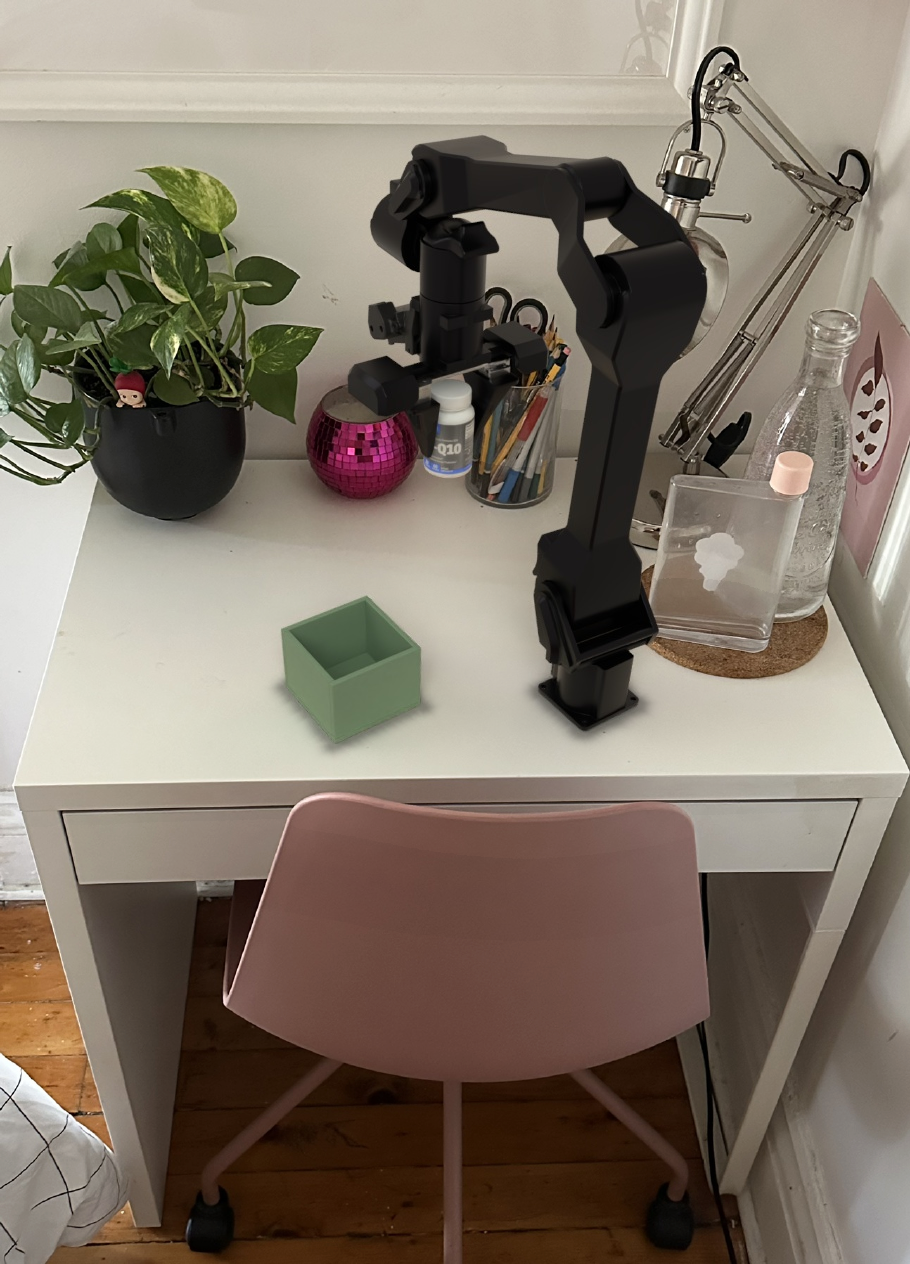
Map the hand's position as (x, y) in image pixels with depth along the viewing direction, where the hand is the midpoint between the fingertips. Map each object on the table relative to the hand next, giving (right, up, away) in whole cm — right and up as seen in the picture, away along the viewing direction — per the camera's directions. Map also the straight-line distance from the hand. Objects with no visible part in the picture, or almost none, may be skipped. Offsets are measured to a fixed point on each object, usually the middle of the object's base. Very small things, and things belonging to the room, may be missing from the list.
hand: (448, 448), depth 109 cm
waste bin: (-8, -23, -10) cm, 26 cm away
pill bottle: (0, -2, +1) cm, 2 cm away
